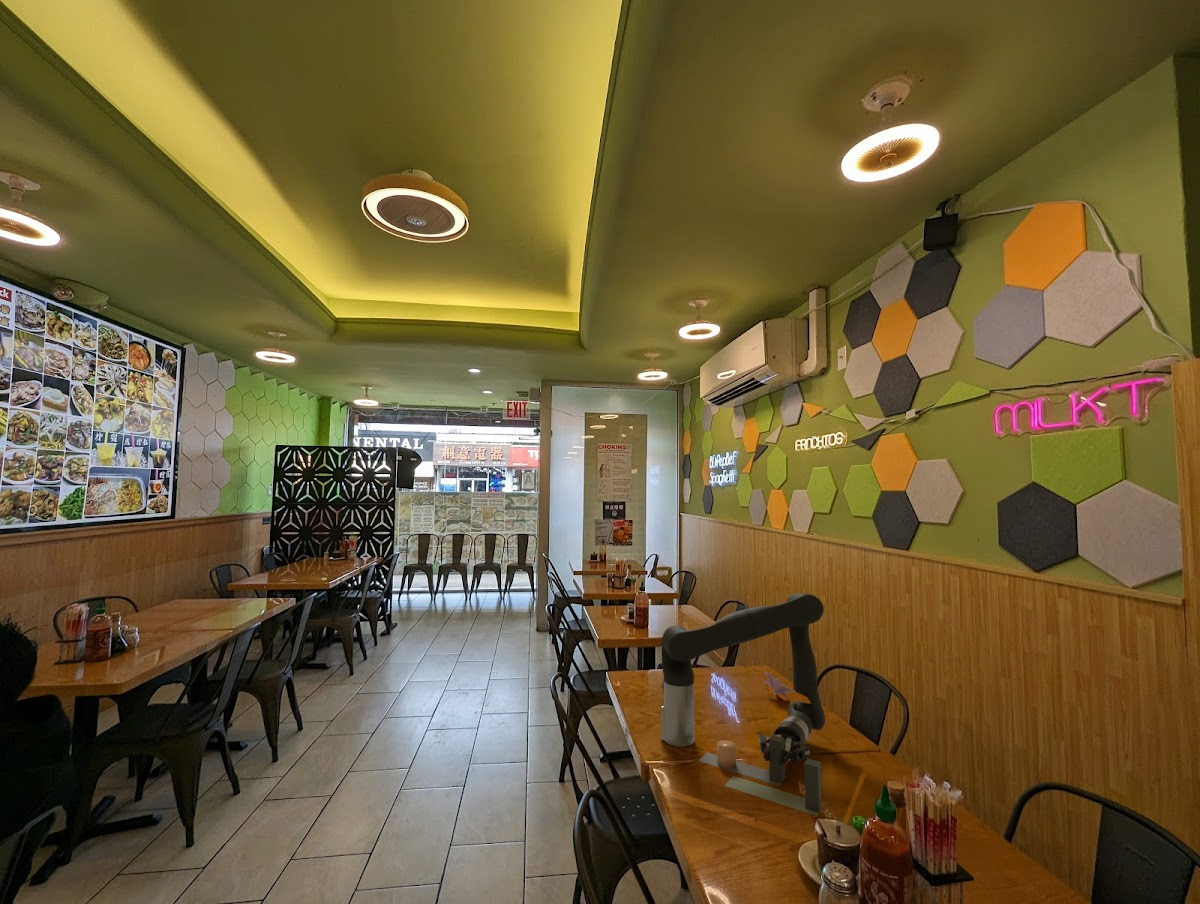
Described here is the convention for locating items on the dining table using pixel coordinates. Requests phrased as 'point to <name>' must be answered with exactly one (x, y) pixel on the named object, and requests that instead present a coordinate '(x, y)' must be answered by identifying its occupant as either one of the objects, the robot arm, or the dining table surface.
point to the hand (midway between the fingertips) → (773, 759)
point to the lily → (777, 686)
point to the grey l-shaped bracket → (771, 776)
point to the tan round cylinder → (726, 754)
